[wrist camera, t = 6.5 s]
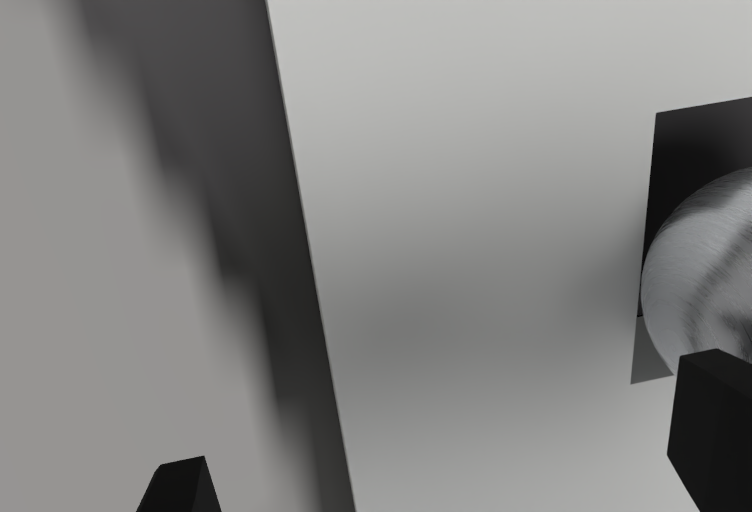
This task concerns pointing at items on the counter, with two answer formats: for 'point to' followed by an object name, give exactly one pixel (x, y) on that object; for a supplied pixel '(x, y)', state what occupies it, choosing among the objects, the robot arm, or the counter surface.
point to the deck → (494, 237)
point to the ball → (702, 273)
